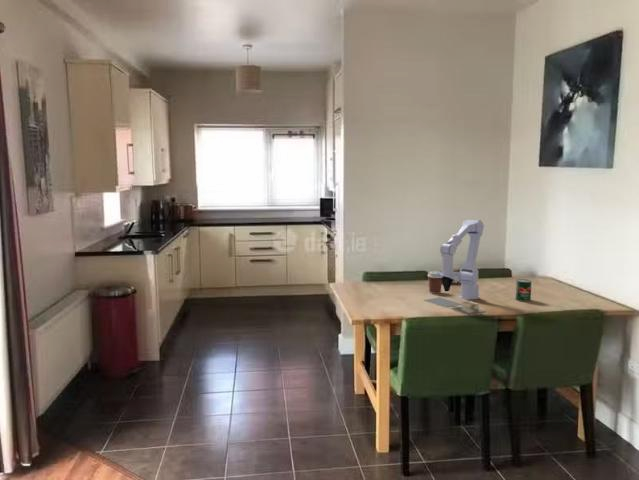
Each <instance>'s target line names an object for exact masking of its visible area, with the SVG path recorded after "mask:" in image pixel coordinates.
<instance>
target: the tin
mask: <svg viewBox="0 0 639 480" xmlns="http://www.w3.org/2000/svg"><path fill="white" fill-rule="evenodd" d="M440 272H442V270H440ZM459 272H460V270H459V269H458V270H457V269H453V274H454V275H456V276H458V274H459ZM455 282H458V283H461V282H460V280H459V278H458V280H453V282H452V284H456V283H455ZM458 283H457V284H458Z"/></svg>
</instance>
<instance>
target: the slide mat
mask: <svg viewBox="0 0 639 480" xmlns="http://www.w3.org/2000/svg"><path fill="white" fill-rule="evenodd" d="M423 301H424V302H428V303H431V304H435V305H437V306H441V307H443V308H446V309H450V310H453V311H455V312H459V313H462V314H465V315H467V316H472V315H478V314H484V313H486V312H487V311H485V310H483V309H480V308H479V311H478V312H473V313H468V312H465V311H462V310H461V303H459V302H455V301H452V300H449V299H446V298H443V297H434V298H433V297H432V298H427V299H423Z"/></svg>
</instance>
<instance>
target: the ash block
mask: <svg viewBox="0 0 639 480" xmlns="http://www.w3.org/2000/svg"><path fill="white" fill-rule="evenodd" d="M460 304H461V310H462V311H465V312H468V313H473V312H478V311H479V309H480V308H479V307H480V306H479V305H480V304H479V303H477V302H474V301H463V302H461V303H460Z"/></svg>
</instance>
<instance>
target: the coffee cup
mask: <svg viewBox="0 0 639 480" xmlns="http://www.w3.org/2000/svg"><path fill="white" fill-rule="evenodd" d="M437 272H438V271H436V270H435V271H432V270H431V271H429V273H428V274H427V278H428V289H429V293H430V294H432V293H434V294H433V295H435V294H436V295H438V294H441V292H442V291H441V290H442V285H443V283H442V281H441V278H442V276H437Z"/></svg>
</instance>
